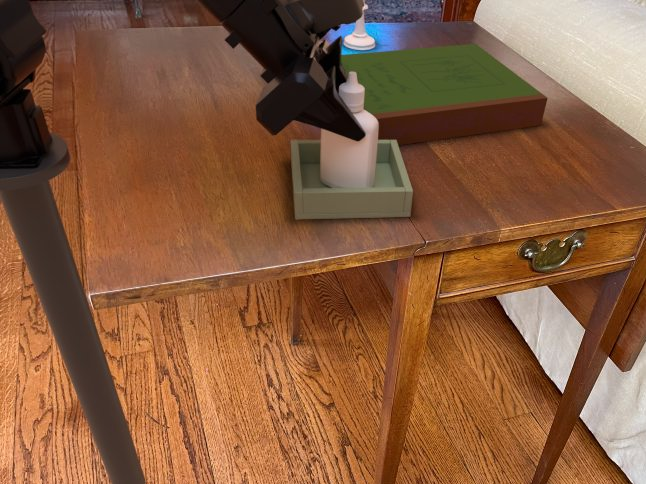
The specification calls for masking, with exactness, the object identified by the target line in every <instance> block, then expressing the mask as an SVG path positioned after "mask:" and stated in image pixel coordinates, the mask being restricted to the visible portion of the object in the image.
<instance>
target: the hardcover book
mask: <svg viewBox="0 0 646 484" xmlns="http://www.w3.org/2000/svg"><path fill="white" fill-rule="evenodd" d="M341 62H342V65H343V67H344V69H345V71H346V73H347V75H349V72H356V74H357V81H358V84H361V85H362V86H363V87H364V88H365V93H364V108H365V110H366V111H367V112H369V113H370V114H372V115H373V116H374V117H375V118H376V119H377V121H378V123H379V130H378V140H397V143H398V146H403V145H411V144H417V143H424V142H425V143H426V142H432V141H439V140H446V139H454V138H460V137H469V136H475V135H482V134H487V133H488V134H490V133H496V132H497V133H498V132H504V131H511V130H517V129H524V128H525V129H526V128H532V127H539V126H542V122H543V119H544V115H545V111H546V107H547V103H548V99H549V98H548V96H546V95H545V94H544V93H542V92H541V91H540V90H538V89H536V88H535V87H534V86H533V85H532V84H530V83H529V82H528V81H526V80H525V79H524V78H522V76H519V75H518V74H517V73H515V72H514V71H513V70H512V69H510V68H509V67H508V66H506V65H505V64H504V63H502V62H501V61H499V60H498V59H497V58H495V57H494V56H493V55H492V54H490V53H489V52H487V51H486V50H485V49H484V48H482V47H481V46H480V45H478V44H477V43H469V44H458V45H456V44H455V45H445V46H433V47H432V46H431V47H421V48H408V49H395V50H383V51H372V52H360V53H358V52H357V53H348V54H341Z"/></svg>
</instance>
